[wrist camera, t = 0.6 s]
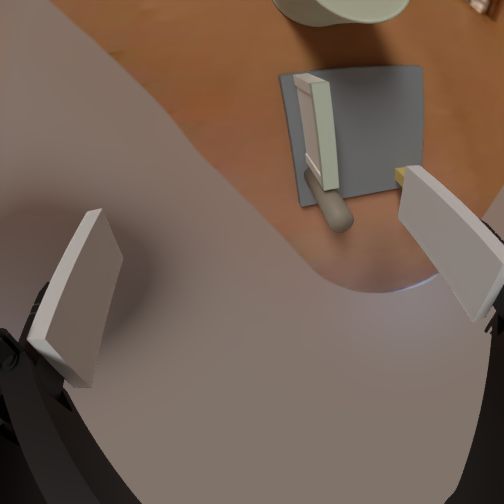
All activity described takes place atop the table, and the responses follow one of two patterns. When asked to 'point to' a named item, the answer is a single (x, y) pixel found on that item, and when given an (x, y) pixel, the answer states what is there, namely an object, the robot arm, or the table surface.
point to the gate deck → (360, 134)
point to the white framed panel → (318, 128)
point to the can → (340, 11)
